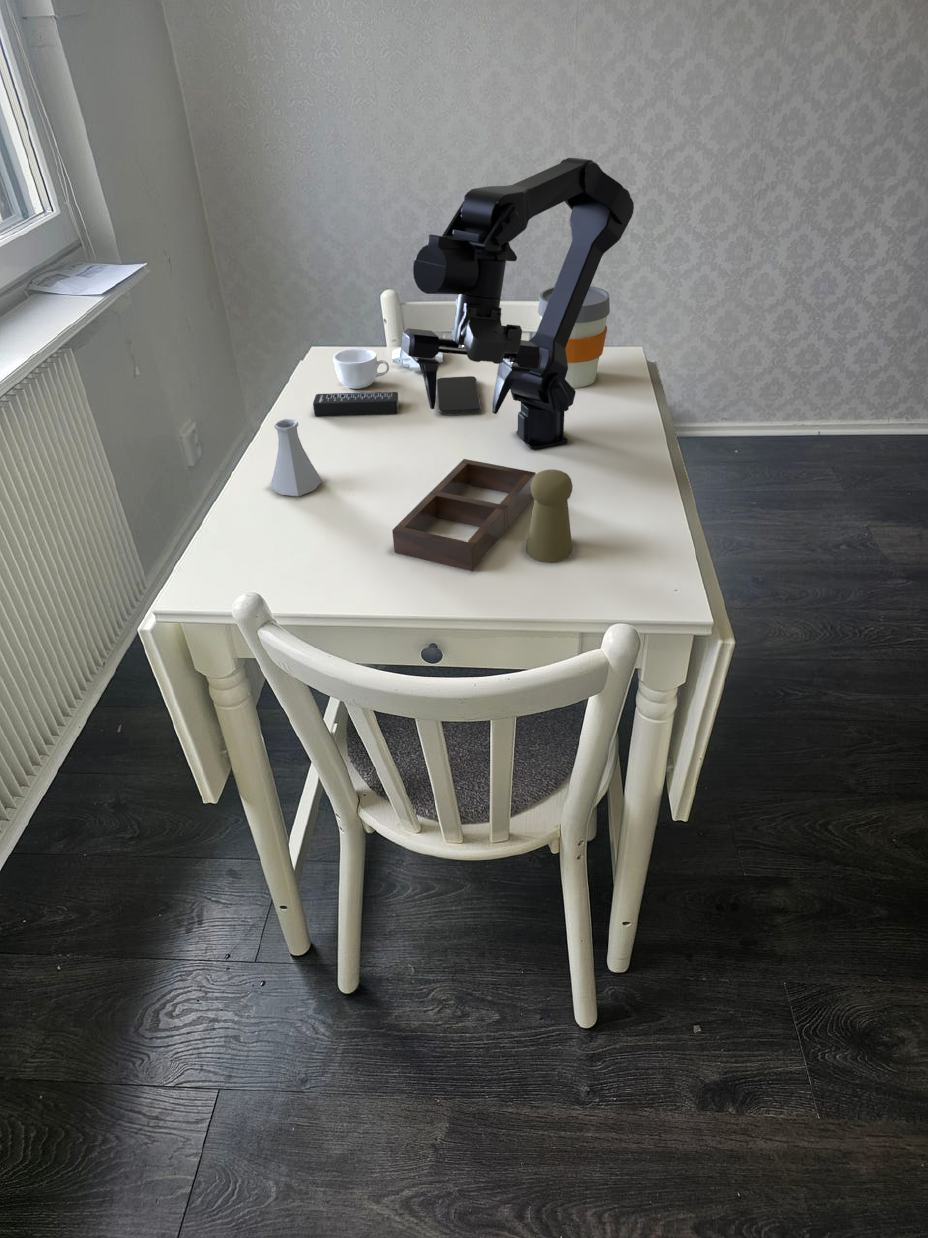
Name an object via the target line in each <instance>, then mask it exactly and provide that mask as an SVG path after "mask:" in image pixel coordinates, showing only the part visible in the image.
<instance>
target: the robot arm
mask: <svg viewBox="0 0 928 1238" xmlns="http://www.w3.org/2000/svg"><path fill="white" fill-rule="evenodd" d="M562 203H565V204H566V205H567V207H568V208H569V209H570V210H571V213H570V215H569V227H570V234H571V235H570V236H571V241H570V242H571V243H570V245H569V248H568V251H567V254H566V256H565V258H564V261H563V264H562V266H561V269H560V270H559V271H560V272H559V274H558V276H557V279H556V281H555V284H554V286H553V287H554V289H553V291H552V294H551V297H550V299H549V302H548V304H547V307H546V309H545V312H544V314H543V317H542V319H541V320H540V322H539V325H538V327H537V330H536V332H535V335H534V336H533V337H531V338H530V339H529V340H525V339H522V337H523V329H522V326H521V325H518V324H517V325H516V324H509V323H508V324H506V325H502V320H501V318H502V307H501V306H500V305H501V299H502V298H501V297H502V292H503V286H504V278H505V272H506V264H507V262H517V260H518V256H517V254H516V252H515V251H514V250H513V249H512V247H511V244H510V242H511V241H513V240H514V239H515V238H516V237H518V236H519V235H520V234H522V233H523V232H525V230H526V229H527V227H528V225H529V222H530V220H531V219H532V218H534V217H535V216H538V215H539V214H542V213H543V212H546V211H548V210H550V209H552V208H554V207H556V206H558V205H560V204H562ZM634 211H635V204H634V201H633V199H632V197H631V194H630V191H629V190H628V189H626V188H625V187H624V186H623V185H622V184H621V183H620V182H618V181H617V180H616V179H614V178H613V177H611V176H610V175H609V174H608V173H606V172H604V171H603V169H602V168H601V167H600V165H599V164H598V163H597V162H595V161H594V160H592V159H588V158H579V157H567V158H564V159H563V160H561V161H560V163H558V164H556V165H555V164H554V165H552V166H551V167H549V168H546V169H544V170H541V171H540V172H538V173H535V174H533V175H531V176H528V177H526V178H524V179H522V180H520V181H517V182H515V183H512V184H509V185H491V186H482V187H477V188H476V187H475V188H472V189H470V190H469V191H468V192H466V194H464V197H463V201H462V203H461V205H459V208H458V209H457V210H456V212H455V214H454V216H453V218H452V219H451V220H450V222H449V224H448V225H447V227H446V229H445V230H444V232H443V234H442V235H438V234H431V233H430V234H429V235H428V237H427V238H428V239H427V244H426V245H424V246H422V248H420V250H419V251H418V252H417V254H416V256H415V259H414V260H413V263H412V275H413V280H414V282H415V284H416V285H415V286H416V287H417V288H418V289H419V290H420V291H421V292H422V293H423V294H426V295H457V297H456V298H455V304H454V306H455V307H456V309H455V316H454V324H453V328H452V329H451V333H450V334H451V336H450V337H451V338H443V337H439V336H438V335H437V334H436V333H435V332H434V331H432V330H430V329H429V330H428V329H418V328H406V329H405V330H404V331H403V332H402V336H401V346H400V348H402V350H403V351H404V352H405V353H406V354H407V355H408V356H411V357H412V358H413V359H414V361H415V362H416V363H419V366H420V369H421V374H422V377H423V382H424V386H425V390H426V395H427V400H428V404H429V408H430V409H431V410H435V407H436V402H437V379H438V377H437V376H438V370H439V366H440V363H439V362H438V361H437V360H436V359H435V356H436V355H437V354H438V352H441V353H443V354H452V355H453V354H454V355H462V356H466V357H467V358H468V359H469V360H470V362H471V361H472V362H475V363H480V362H487V363H488V362H489V363H493V364H496V365H497V373H496V380H495V386H494V391H493V397H492V407H491V412H492V414H494V415H497V414H498V412H499V410H500V408H501V407H502V405H503V403H504V401H505V399H506V397H507V395H508V393H509V392H510V394H511V397H512V400H513V401H515V402H520V411H518V413H517V430H516V435H517V437H518V438H519V439H520V440H521V441H522V442H523V443H524V444H525V445H526V446H527V447H528V448H529V449H530V450H537V449H542V448H549V447H553V446H559V445H564V444H567V443H568V442H569V439H568V438H567V436H566V435H564V434H565V412H568V411H570V410H569V409H570V408H569V407H571V406H573V404H574V400H575V397H576V393H577V391H576V390H575V388H572V387H571V385H570V384H569V383H568V382H567V381H566V380H565V378H566V374H567V371H568V363H567V356H566V345H567V343H568V340H569V338H570V335H571V333H572V330H573V328H574V325H575V323H576V320H577V318H578V315H579V313H580V310H581V308H582V305H583V303H584V300H585V298H586V295H587V293H588V290H589V288H590V286H592V283H593V280H594V277H595V276H596V272H597V270H598V268H599V265H600V263H601V260H602V258H603V256H604V254H605V253H606V252H608V251H609V250H610V249H611V248H613V246H615V245H616V244H617V243H618V242H619V241H620V240H621V238H622V236H623V235H624V232H625V231H626V229H627V227H628V225H629V223H630V222H631V220H632V218H633V214H634ZM461 346H462V347H461Z"/></svg>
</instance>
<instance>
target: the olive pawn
mask: <svg viewBox="0 0 928 1238" xmlns="http://www.w3.org/2000/svg"><path fill="white" fill-rule="evenodd" d="M531 493H532V496H533V497H532V499H533V500H534V501H533V507H532V511H531V512H532V513H531V519H530V524H529V529H528V530H529V531H528V534H527V535H528V536H527V543H526V548H525V551H526V554H527V555H528V556H529V558H531V559H533V560H534V561H537V562H541V563H549V564H551V563H558V562H563V561H565V560H566V559H569V558H570V557H571V556H572V553H573V540H572V532H571V531H572V530H571V522H570V521H571V520H570V513H569V512H570V511H569V502H568V500H570V498H571V496H572V493H573V482H572V478H571V477H570V475H569V474H568V473H567V472H564V471H563V470H559V469H550V468H549V469H544V470H541V471H539V472H537V473H536V475H535V476H534V477H533V479H532V482H531Z"/></svg>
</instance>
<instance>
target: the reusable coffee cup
mask: <svg viewBox="0 0 928 1238" xmlns="http://www.w3.org/2000/svg"><path fill="white" fill-rule="evenodd" d="M553 289H554V286H553V287H549V288H546V289H544V290H543V291H542V292H540V294H539V299H538V300H539V301H538V309H537V314H538V315H539V319H540V321H541V319H542V317H543V314H544V312H545V309H546V307H547V304H548V302H549V299H550V297H551V294H552V291H553ZM610 313H611V307H610V293H609V291H607V290H605V289H604V288H600V287H597V286H594V285H593V286H592V285H590V288H589V290H588V293H587V295H586V298H585V300H584V303H583V305H582V308H581V310H580V313H579V315H578V318H577V320H576V323H575V325H574V328H573V330H572V333H571V335H570V338H569V340H568V343H567V345H566V356H567V363H568V371H567V374H566V378H565V380H566V381H567V382H568V383H569V384H570V385H571V387H572V388H573V389H579V388H584V387H587V386H590V385H592V384H593V383H595V381H596V377H597V372H598V367H599V361H600V357H601V356H602V355H603V353H604V347H605V342H606V337H607V331H608V325H607V319H608V316H609V315H610Z"/></svg>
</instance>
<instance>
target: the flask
mask: <svg viewBox="0 0 928 1238" xmlns="http://www.w3.org/2000/svg"><path fill="white" fill-rule="evenodd" d="M273 427H274V429H275V430H276V431H277V437H278V442H277V443H278V444H277V445H278V447H277V455H276V460H275V464H274V465H275V466H274V470H273V474H272V478H271V482H270V489H271V490H273V491H275V492H276V493H277V494H278V495H281V496H292V497H300V496H302V495H305V494H308V493H310V492H313V491H315V490H316V489H317V488H318V487H319V485H320V484H321V483H322V478H321V476H320V474H319V473H318V471H317V469H316V468H315V466H314V465H313V463H312V462H311V460H310V458H309V456H308V454H307V452H306V451H305V448H304V447H303V445H302V442H301V440H300V436H299V433H298V427H299V421H297V420H295V419H291V418H290V419H289V418H285V419H281V420H278V421H277V422H276V423H275V424H274V425H273Z"/></svg>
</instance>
